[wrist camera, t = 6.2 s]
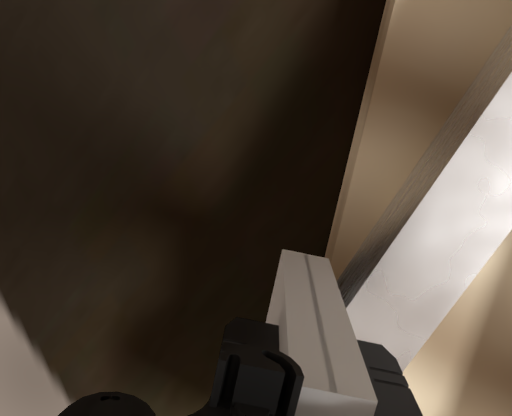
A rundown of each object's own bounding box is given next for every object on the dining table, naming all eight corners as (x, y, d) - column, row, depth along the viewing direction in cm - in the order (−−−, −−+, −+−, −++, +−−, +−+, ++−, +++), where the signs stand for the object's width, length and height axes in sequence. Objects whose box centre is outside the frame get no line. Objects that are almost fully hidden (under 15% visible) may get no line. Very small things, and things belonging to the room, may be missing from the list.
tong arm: (595, -99, 12) (676, -148, 10) (669, -48, 12) (766, -84, 10) (217, 456, 16) (207, 518, 14) (275, 487, 17) (275, 553, 14)
